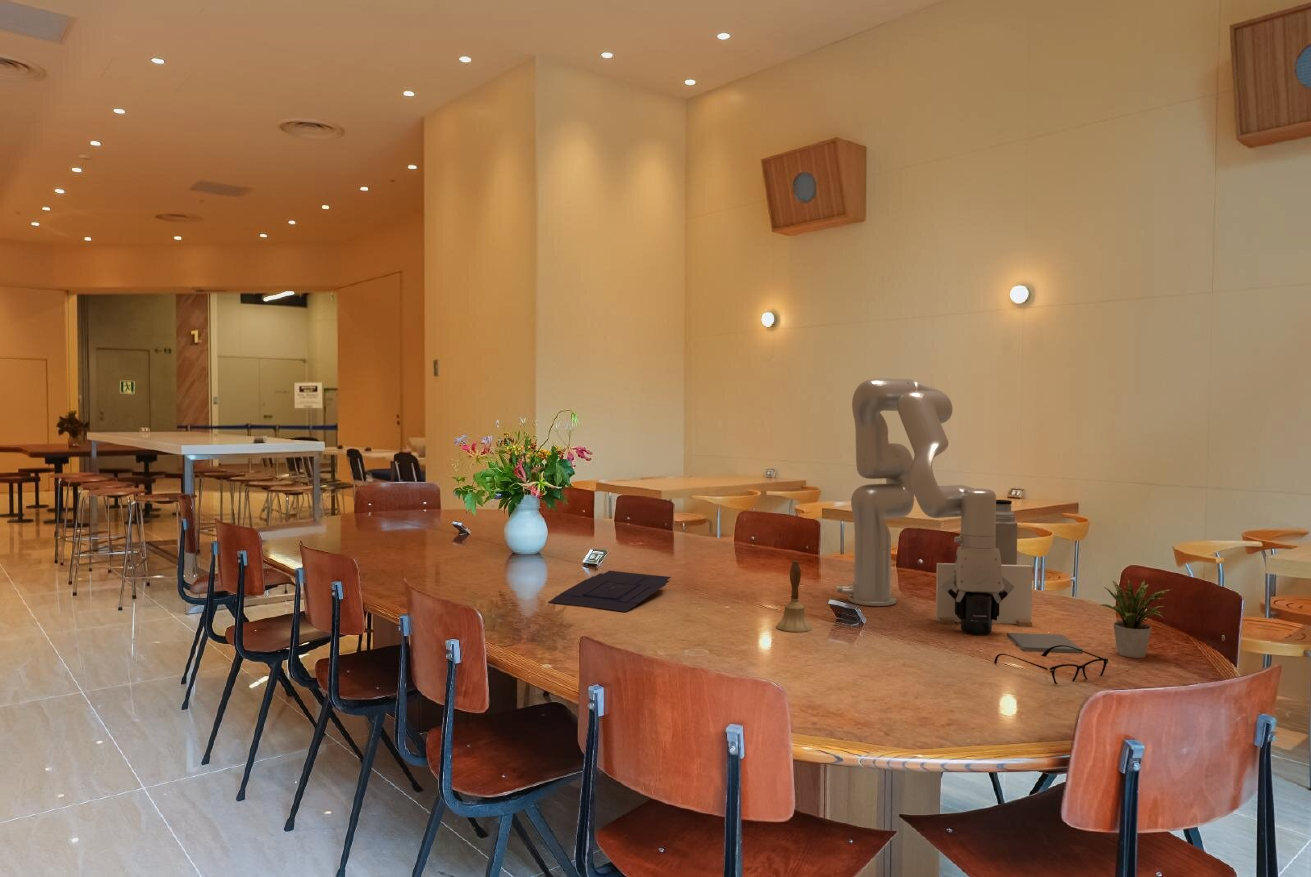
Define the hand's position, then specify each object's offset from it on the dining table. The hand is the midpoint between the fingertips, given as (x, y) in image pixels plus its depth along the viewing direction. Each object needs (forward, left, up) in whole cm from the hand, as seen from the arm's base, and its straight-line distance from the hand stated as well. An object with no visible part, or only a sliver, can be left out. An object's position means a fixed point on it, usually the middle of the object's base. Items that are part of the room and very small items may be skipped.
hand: (976, 617), depth 197 cm
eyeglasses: (+7, -28, -4) cm, 29 cm away
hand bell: (-42, -2, -4) cm, 42 cm away
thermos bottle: (+13, +29, -3) cm, 32 cm away
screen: (+4, +10, -3) cm, 11 cm away
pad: (+12, -9, -3) cm, 15 cm away
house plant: (+28, -16, -3) cm, 32 cm away
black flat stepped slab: (-90, +25, -4) cm, 93 cm away
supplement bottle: (0, 0, -3) cm, 3 cm away
